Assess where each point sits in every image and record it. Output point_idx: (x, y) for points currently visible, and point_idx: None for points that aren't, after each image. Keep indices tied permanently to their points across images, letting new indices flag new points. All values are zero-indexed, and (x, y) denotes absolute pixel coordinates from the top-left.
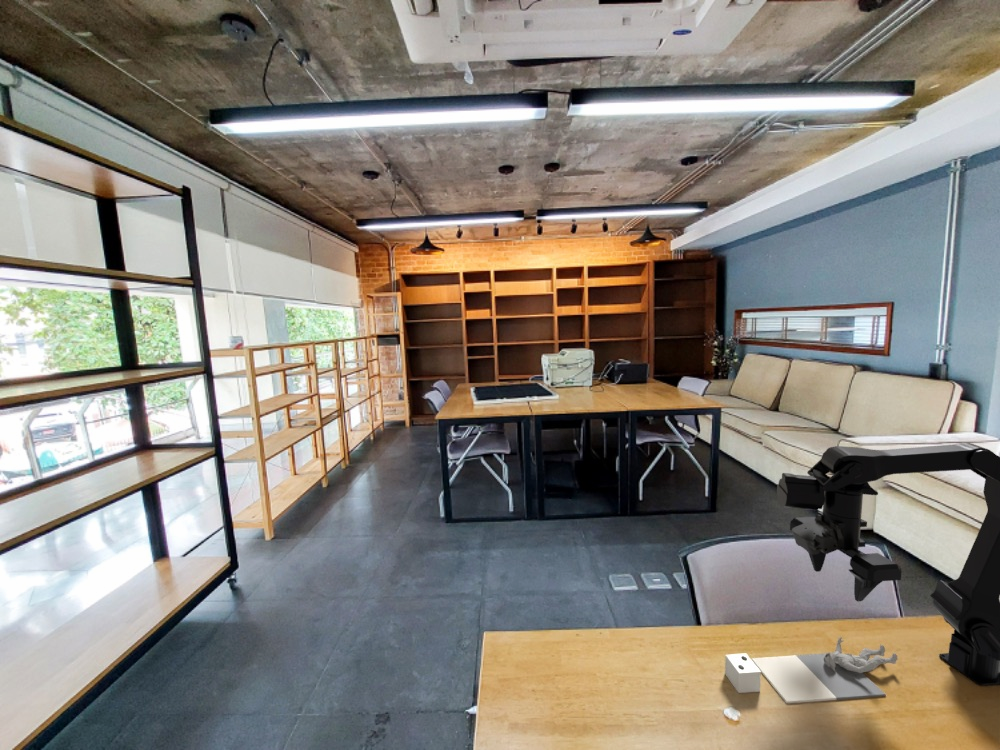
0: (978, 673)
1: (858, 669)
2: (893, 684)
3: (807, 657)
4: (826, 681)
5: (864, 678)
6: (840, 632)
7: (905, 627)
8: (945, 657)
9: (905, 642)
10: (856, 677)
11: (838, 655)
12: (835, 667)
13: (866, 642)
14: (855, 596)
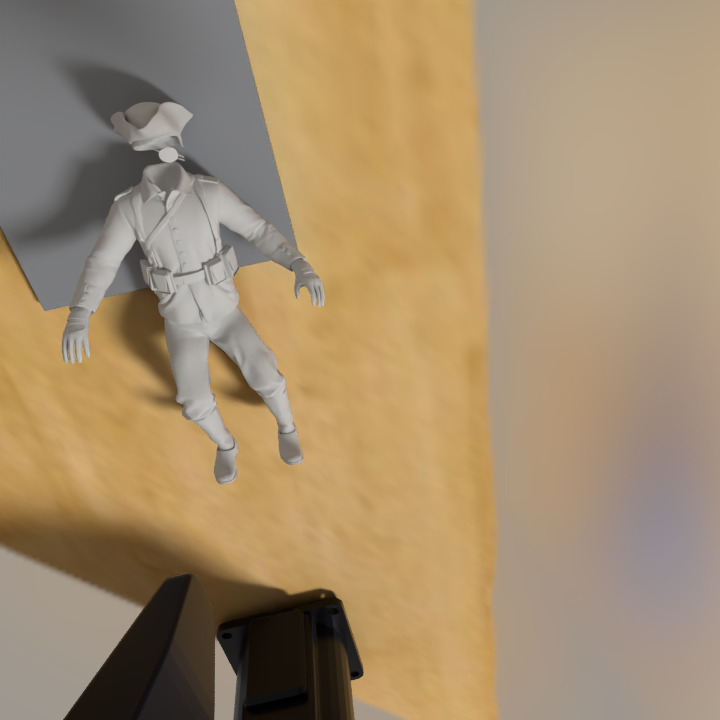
0: (243, 656)
1: (93, 253)
2: (145, 380)
3: (212, 18)
4: (17, 24)
5: (124, 271)
6: (455, 343)
7: (486, 582)
8: (326, 612)
9: (407, 543)
10: None
11: (191, 203)
12: None
13: (395, 416)
14: (162, 618)
